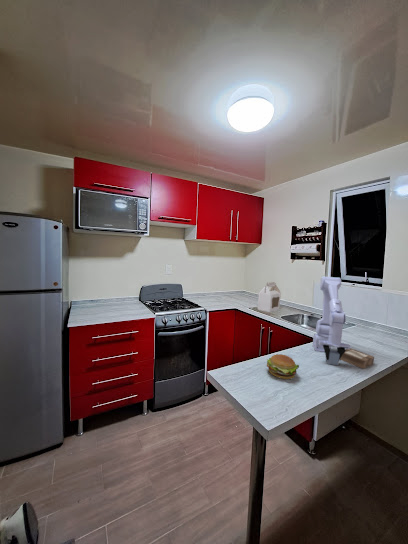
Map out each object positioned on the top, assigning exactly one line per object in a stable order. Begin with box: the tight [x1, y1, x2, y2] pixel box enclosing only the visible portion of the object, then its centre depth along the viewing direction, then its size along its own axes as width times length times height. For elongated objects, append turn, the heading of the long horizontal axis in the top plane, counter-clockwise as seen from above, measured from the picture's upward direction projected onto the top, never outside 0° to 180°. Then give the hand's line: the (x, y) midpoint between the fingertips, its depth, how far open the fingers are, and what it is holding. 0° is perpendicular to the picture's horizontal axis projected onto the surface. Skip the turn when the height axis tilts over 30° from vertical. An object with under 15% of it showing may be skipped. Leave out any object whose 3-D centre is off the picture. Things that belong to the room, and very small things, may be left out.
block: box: [325, 349, 340, 366], centre depth 119 cm, size 4×4×6 cm
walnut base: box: [339, 347, 375, 370], centre depth 123 cm, size 12×12×4 cm
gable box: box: [257, 281, 282, 313], centre depth 231 cm, size 22×13×28 cm, turn 136°
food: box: [266, 353, 300, 380], centre depth 105 cm, size 14×14×8 cm
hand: (332, 360), depth 119 cm, fingers closed on block, 4 cm apart
